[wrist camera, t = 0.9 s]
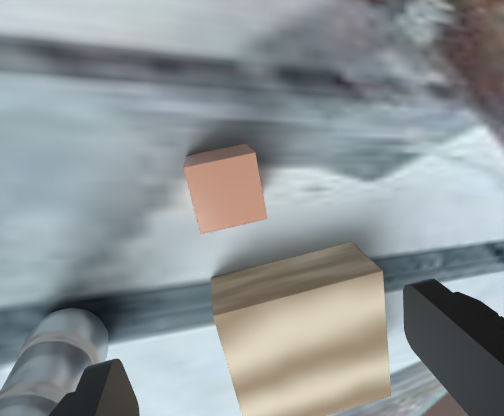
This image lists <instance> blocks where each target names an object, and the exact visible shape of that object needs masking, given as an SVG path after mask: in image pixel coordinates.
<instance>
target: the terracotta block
mask: <svg viewBox="0 0 504 416" xmlns="http://www.w3.org/2000/svg"><path fill="white" fill-rule="evenodd" d="M184 172H185V176H186V180H187V183H188V187H189V191H190V195H191V199H192V203H193V206H194V210H195V214H196V218H197V222H198V225H199V229H200V233H201V234H204V233H208V232H213V231H217V230H221V229H226V228H230V227H234V226H239V225H243V224H247V223H251V222H256V221H260V220H264V219H267V214H266V209H265V203H264V197H263V192H262V186H261V181H260V175H259V170H258V164H257V159H256V153H255V152H254V151H253V150H252V149H251V148H250V147H249V146H248V145H247V144H246V143H245V144H240V145H235V146H231V147H226V148H221V149H216V150H212V151H207V152H202V153H197V154H193V155H188V156H186V158H185V163H184Z"/></svg>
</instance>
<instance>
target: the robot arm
mask: <svg viewBox="0 0 504 416" xmlns="http://www.w3.org/2000/svg"><path fill="white" fill-rule="evenodd" d="M403 305H404V331H405V335H406V338H407V340H408V343H409V345H410V346H411V348H412V350H413V351H414V352H415V353H416V355H417V356H418V357H419V358H420V359H421V360H422V362H423V363H424V364H425V365H426V366H427V367H428V369H429V370H430V371H431V372H432V373H433V374H434V376H435V377H436V378H437V379H438V380H439V381H440V383H441V384H442V385H443V386H444V387H445V388H446V390H447V391H448V392H449V393H450V394H451V395H452V397H453V398H454V399H455V400H456V401H457V402H458V404H459V405H460V406H461V407H462V408H463V409H464V411H465V412H466V413H467V414H468V415H469V416H504V317H502V316H501V317H500V316H499V315H498V313H496V312H495V311H494V310H492V309H491V308H489V307H488V306H487V305H485V304H484V303H482V302H481V301H479V300H477V299H475V298H472V297H470V296H467V295H465V294H462V293H460V292H454V293H453V292H451V291H450V290H449V289H447V288H446V287H445V286H443V285H442V284H441V283H439V282H438V281H437V280H435V279H427V280H423V281H420V282H416V283H412V284H408V285H405V287H404V289H403ZM48 416H139V406H138V402H137V398H136V396H135V394H134V391H133V389H132V386H131V384H130V381H129V379H128V376H127V374H126V372H125V369H124V367H123V364H122V362H121V361H120V360H119V359H113V360H109V361H105V362H101V363H97V364H94V365H90V366H87V367H86V368H85V369H84V371H83V374H82V376H81V378H80V381H79V383H78V385H77V388H76V390H75V391H74V392H70V393H67V394H66V395H65V396H64V397H63V398H62V399H61V401H60V402H59V403H58V404H57V405H56V407H55V408H54V409H53V410H52V412H51V413H50V414H49V415H48Z"/></svg>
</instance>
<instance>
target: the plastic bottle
mask: <svg viewBox="0 0 504 416" xmlns="http://www.w3.org/2000/svg"><path fill="white" fill-rule="evenodd" d="M108 343H109V335H108V331H107V329H106V327H105V325H104V324H103V322H102V321H101V320H100V319H99V317H98V316H96V315H95V314H93V313H92V312H90V311H87V310H84V309H79V308H68V309H62V310H58V311H55V312H53V313H51V314H49V315H48V316H46V317H45V318H44V319H43V320H41V321H40V322H39V323H38V324H37V325H36V326H35V327H34V328H33V329H32V330H31V331H30V333H29V334H28V336H27V338H26V340H25V342H24V344H23V346H22V348H21V350H20V353H19V356H18V359H17V362H16V364H15V365H14V367H13V369H12V371H11V373H10V374H9V376H8V378H7V380H6V382H5V383H4V385H3V387H2V389H1V390H0V416H48V415H49V414H50V413H51V412H52V410H53V409H54V408H55V407H56V405H57V404H58V403H59V402H60V401H61V399H62V398H63V397H64V396H65V395H66V394H67V393H70V392H74V391H75V390H76V388H77V385H78V383H79V381H80V378H81V376H82V374H83V371H84V369H85V368H86V367H87V366H90V365H94V364H97V363H101V362H105V359H106V357H107V350H108Z"/></svg>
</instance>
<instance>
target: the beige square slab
mask: <svg viewBox="0 0 504 416" xmlns="http://www.w3.org/2000/svg"><path fill="white" fill-rule="evenodd" d="M211 291H212V305H213V317H214V321H215V324H216V327H217V331H218V334H219V338H220V341H221V345H222V348H223V351H224V355H225V358H226V362H227V365H228V369H229V372H230V375H231V379H232V382H233V386H234V389H235V392H236V396H237V399H238V403H239V406H240V410H241V413H242V416H326V415H330V414H333V413H336V412H339V411H343V410H346V409H349V408H353V407H356V406H359V405H363V404H366V403H369V402H373V401H376V400H379V399H383V398H386V397H389V396H391V387H390V372H389V357H388V342H387V326H386V311H385V296H384V281H383V271H382V270H381V269H380V268H379V267H378V266H377V265H376V264H375V263H374V262H373V261H372V260H371V259H370V258H368V257H367V256H366V255H365V254H364V253H363V252H362V251H361V250H360V249H359V248H358V247H357V246H356V245H355V244H353V243H352V242H349V243H345V244H341V245H338V246H334V247H330V248H326V249H322V250H318V251H314V252H310V253H307V254H303V255H299V256H295V257H291V258H287V259H283V260H279V261H276V262H272V263H268V264H264V265H260V266H256V267H252V268H248V269H245V270H241V271H237V272H233V273H229V274H225V275H221V276H217V277H214V278H211Z"/></svg>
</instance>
